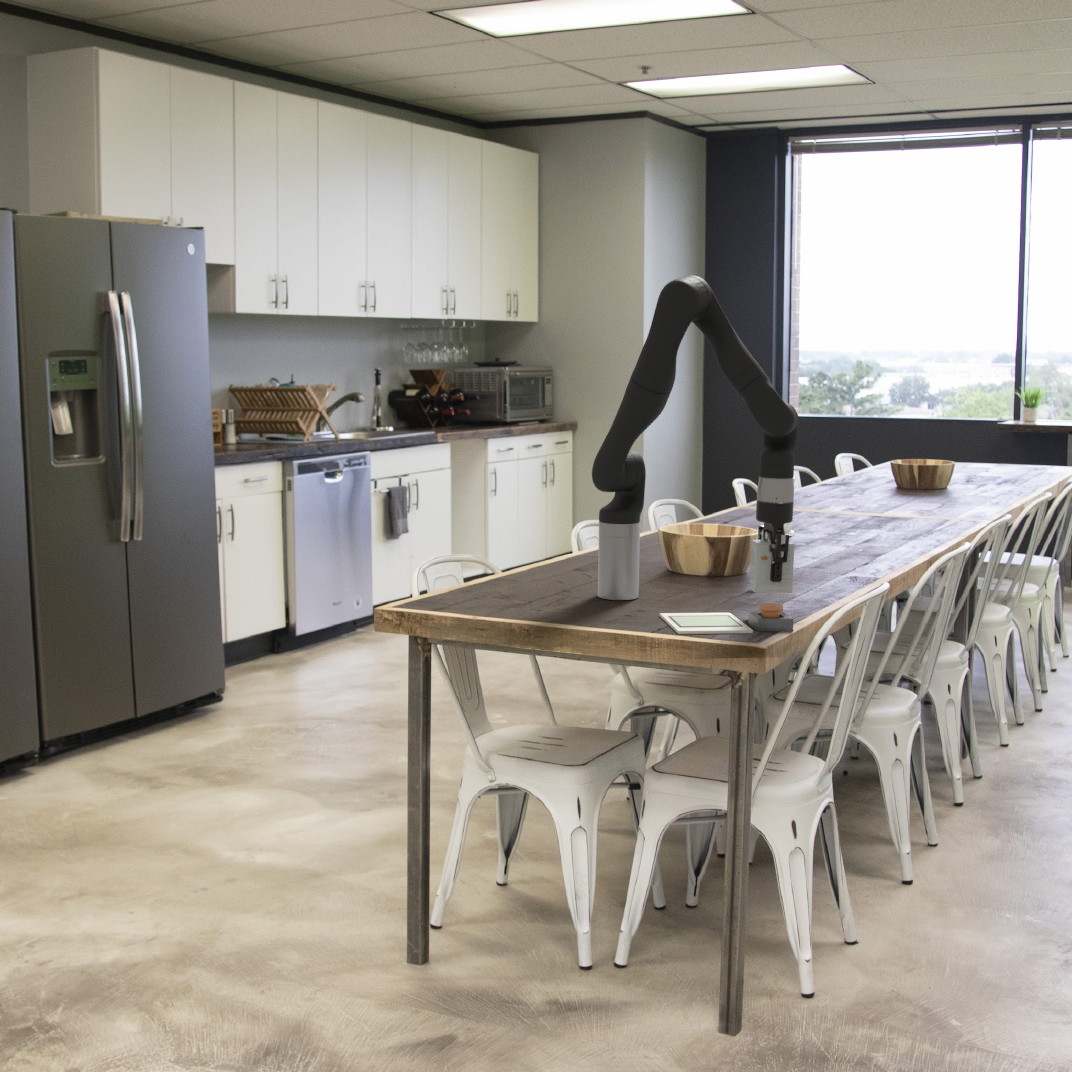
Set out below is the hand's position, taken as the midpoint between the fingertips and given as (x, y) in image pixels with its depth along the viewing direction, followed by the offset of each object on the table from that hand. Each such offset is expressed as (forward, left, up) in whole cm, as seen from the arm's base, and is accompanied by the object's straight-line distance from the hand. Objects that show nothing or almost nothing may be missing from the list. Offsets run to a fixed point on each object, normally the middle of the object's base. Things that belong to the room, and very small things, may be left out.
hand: (771, 578), depth 267 cm
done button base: (+11, -3, -8) cm, 14 cm away
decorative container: (-127, +40, -8) cm, 134 cm away
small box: (0, 0, -3) cm, 3 cm away
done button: (+11, -3, -7) cm, 13 cm away
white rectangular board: (+7, -16, -8) cm, 19 cm away
